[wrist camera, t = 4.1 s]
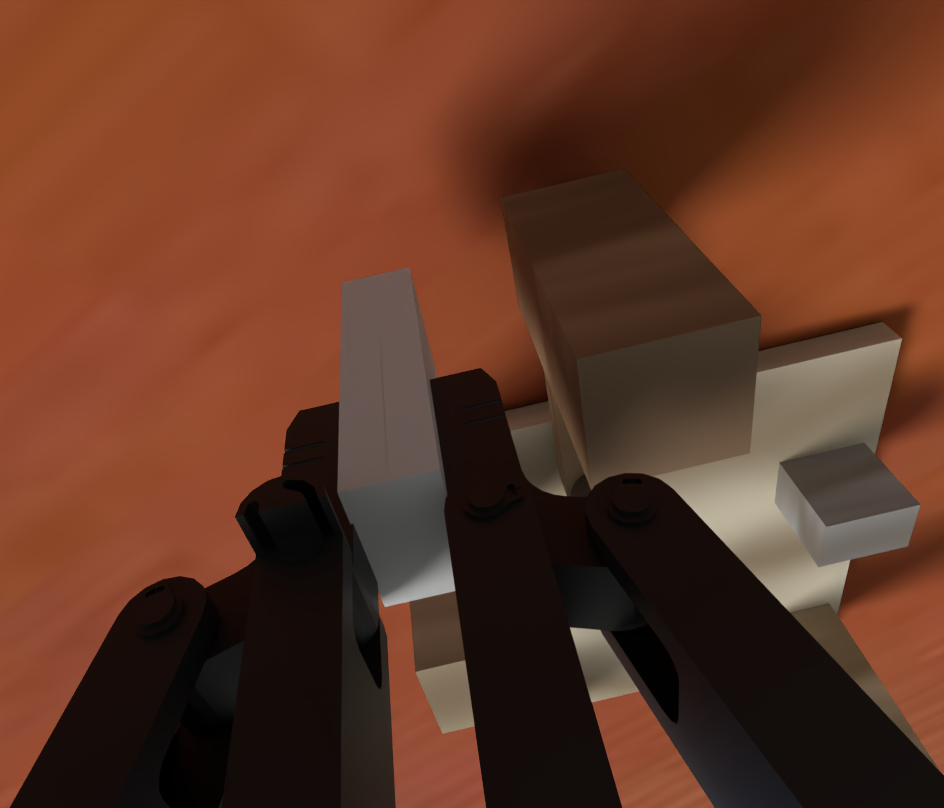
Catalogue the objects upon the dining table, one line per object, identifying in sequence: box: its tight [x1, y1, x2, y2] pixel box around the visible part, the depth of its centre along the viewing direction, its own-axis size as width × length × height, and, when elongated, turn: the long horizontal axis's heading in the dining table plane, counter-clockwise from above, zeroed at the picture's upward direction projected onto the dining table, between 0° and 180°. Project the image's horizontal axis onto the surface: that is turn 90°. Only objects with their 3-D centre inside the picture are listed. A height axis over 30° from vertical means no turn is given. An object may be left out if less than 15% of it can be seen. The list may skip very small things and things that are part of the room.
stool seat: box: [410, 322, 939, 770], centre depth 24 cm, size 17×16×8 cm
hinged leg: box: [501, 169, 761, 497], centre depth 17 cm, size 10×3×7 cm, turn 11°
